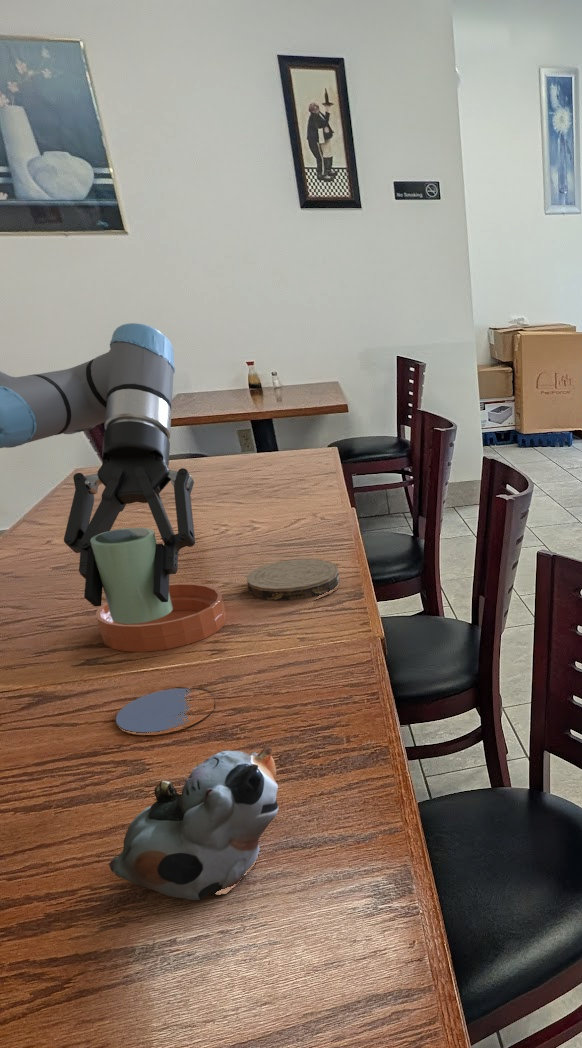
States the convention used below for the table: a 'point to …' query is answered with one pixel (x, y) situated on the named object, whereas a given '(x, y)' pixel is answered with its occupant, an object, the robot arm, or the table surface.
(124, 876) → the lucky cat figurine
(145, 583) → the cup
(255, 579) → the wood slice
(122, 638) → the bowl
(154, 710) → the coaster
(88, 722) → the table surface
